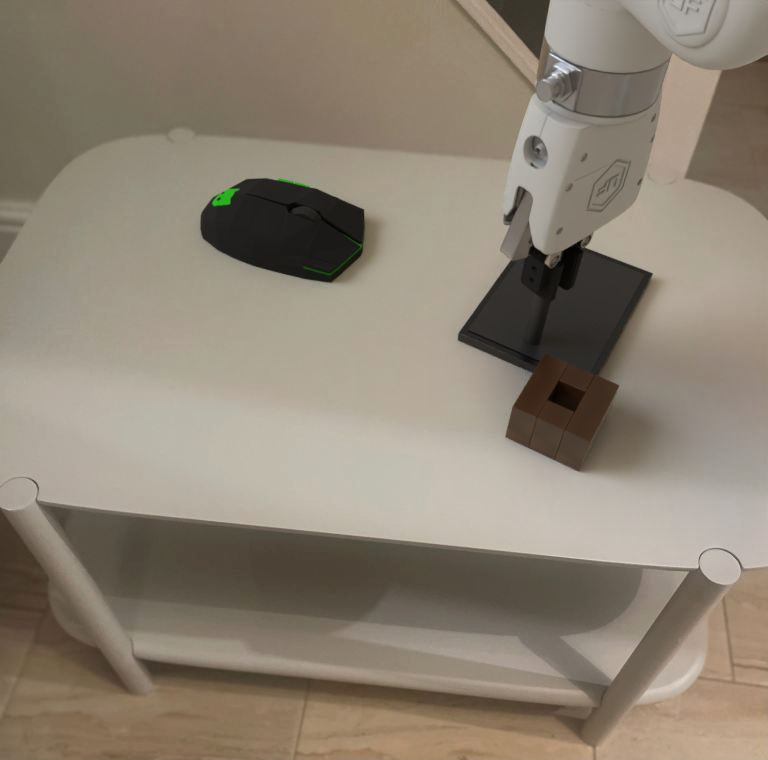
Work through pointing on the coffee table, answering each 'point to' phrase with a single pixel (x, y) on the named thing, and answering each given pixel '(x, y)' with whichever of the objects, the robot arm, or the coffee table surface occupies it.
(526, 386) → the holder
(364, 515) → the coffee table surface
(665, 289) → the coffee table surface
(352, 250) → the computer mouse
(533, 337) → the stylus
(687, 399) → the coffee table surface
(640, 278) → the tablet
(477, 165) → the coffee table surface
